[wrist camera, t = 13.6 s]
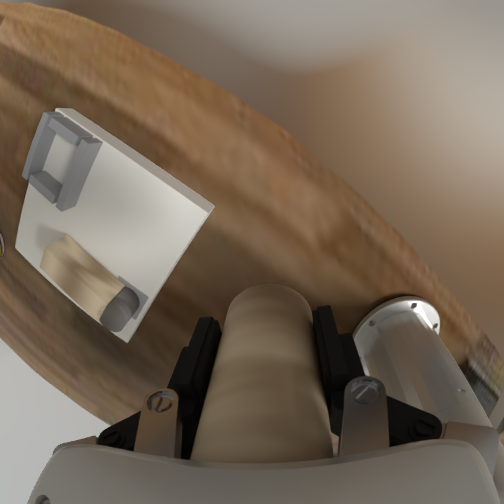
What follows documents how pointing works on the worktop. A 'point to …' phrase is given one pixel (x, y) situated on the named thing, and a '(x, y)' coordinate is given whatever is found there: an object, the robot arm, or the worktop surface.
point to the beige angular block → (89, 283)
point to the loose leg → (265, 384)
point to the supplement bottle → (1, 245)
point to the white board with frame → (106, 206)
